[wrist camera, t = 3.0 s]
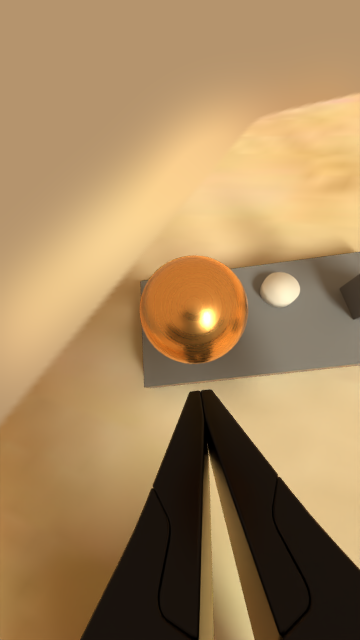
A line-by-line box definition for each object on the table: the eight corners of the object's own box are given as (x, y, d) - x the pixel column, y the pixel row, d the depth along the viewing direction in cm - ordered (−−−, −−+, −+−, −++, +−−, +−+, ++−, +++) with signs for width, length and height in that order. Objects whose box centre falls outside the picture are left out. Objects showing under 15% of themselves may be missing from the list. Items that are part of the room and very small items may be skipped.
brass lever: (173, 338, 14) (133, 385, 4) (169, 301, 14) (116, 245, 4) (210, 333, 14) (276, 369, 3) (206, 296, 14) (257, 226, 4)
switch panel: (152, 388, 15) (133, 386, 11) (147, 295, 18) (131, 263, 13) (424, 358, 14) (526, 342, 10) (374, 266, 17) (436, 222, 13)
